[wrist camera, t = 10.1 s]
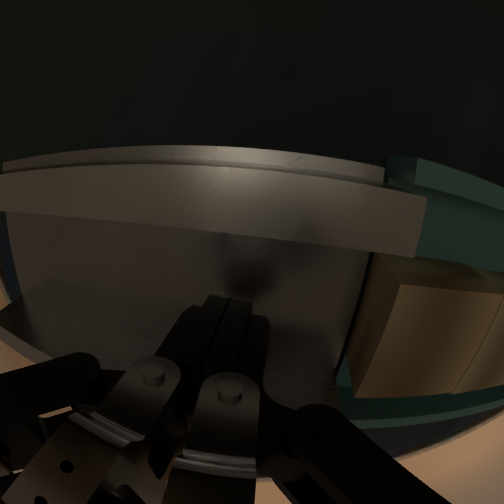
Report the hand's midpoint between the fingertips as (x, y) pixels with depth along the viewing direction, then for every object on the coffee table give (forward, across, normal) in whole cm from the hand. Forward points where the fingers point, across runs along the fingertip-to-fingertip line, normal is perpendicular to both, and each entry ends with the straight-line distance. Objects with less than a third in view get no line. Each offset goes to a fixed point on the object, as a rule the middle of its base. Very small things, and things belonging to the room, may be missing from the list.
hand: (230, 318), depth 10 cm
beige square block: (+2, -8, 0) cm, 8 cm away
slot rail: (+2, +5, 0) cm, 6 cm away
